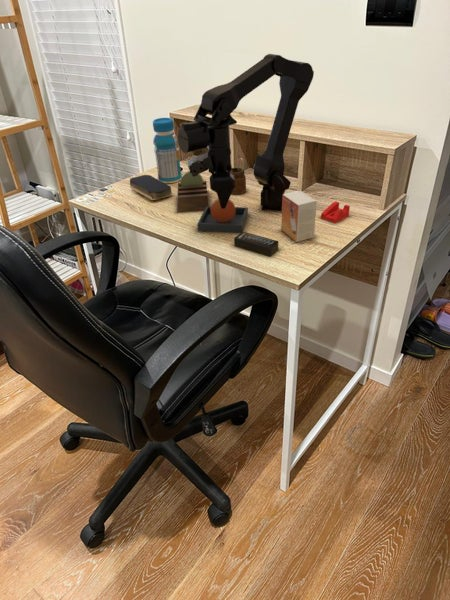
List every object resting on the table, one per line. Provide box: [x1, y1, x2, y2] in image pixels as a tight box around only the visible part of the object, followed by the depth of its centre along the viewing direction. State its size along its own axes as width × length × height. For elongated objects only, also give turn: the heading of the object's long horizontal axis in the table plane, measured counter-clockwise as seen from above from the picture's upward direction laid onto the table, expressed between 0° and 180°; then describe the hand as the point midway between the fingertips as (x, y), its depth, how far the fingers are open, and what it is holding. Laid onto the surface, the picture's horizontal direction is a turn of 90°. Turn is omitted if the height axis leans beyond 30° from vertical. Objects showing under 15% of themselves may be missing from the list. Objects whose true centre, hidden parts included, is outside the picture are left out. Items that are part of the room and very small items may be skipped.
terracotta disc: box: [210, 198, 236, 223], centre depth 126 cm, size 7×1×7 cm, turn 94°
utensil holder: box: [230, 158, 247, 195], centre depth 143 cm, size 6×6×12 cm
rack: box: [176, 180, 211, 214], centre depth 140 cm, size 10×12×5 cm
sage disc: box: [180, 170, 204, 186], centre depth 141 cm, size 7×1×7 cm, turn 94°
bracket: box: [320, 201, 351, 224], centre depth 127 cm, size 6×5×3 cm
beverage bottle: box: [152, 117, 183, 184], centre depth 153 cm, size 8×8×20 cm
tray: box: [197, 205, 249, 234], centre depth 128 cm, size 12×11×2 cm
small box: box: [280, 190, 318, 243], centre depth 118 cm, size 8×6×10 cm
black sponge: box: [129, 174, 173, 201], centre depth 148 cm, size 16×8×4 cm, turn 38°
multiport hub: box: [233, 231, 279, 257], centre depth 116 cm, size 4×11×2 cm, turn 54°
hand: (222, 201), depth 125 cm, fingers open, 9 cm apart
